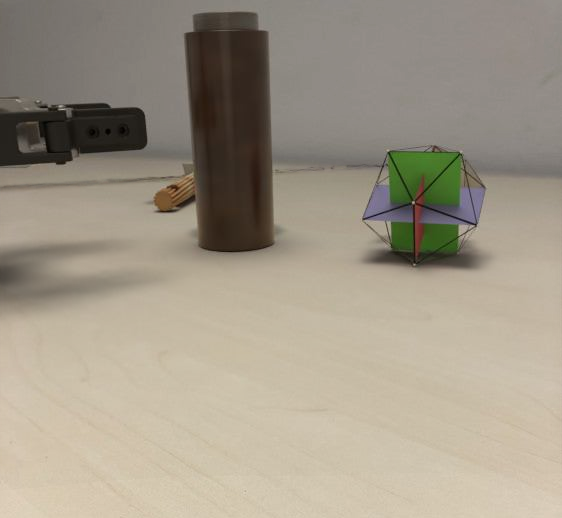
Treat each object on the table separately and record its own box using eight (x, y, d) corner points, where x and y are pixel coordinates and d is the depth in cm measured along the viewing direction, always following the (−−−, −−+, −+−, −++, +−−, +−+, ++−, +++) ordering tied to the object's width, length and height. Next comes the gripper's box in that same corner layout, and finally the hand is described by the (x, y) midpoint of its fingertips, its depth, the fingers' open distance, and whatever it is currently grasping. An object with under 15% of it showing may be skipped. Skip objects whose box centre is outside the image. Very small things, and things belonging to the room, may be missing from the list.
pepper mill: (205, 254, 45) (188, 10, 40) (193, 237, 50) (177, 17, 44) (283, 247, 47) (277, 10, 41) (264, 232, 51) (257, 16, 46)
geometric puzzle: (472, 243, 37) (491, 108, 38) (345, 236, 39) (369, 109, 41) (475, 292, 44) (492, 175, 45) (367, 284, 46) (386, 173, 47)
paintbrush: (247, 148, 76) (182, 185, 58) (248, 174, 77) (184, 218, 59) (213, 148, 76) (138, 184, 59) (214, 173, 78) (142, 216, 60)
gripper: (-233, 57, 29) (152, 51, 35) (-185, 63, 41) (96, 58, 47) (-181, 238, 32) (165, 204, 38) (-150, 195, 44) (109, 174, 50)
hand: (127, 123), depth 42 cm, fingers open, 8 cm apart
